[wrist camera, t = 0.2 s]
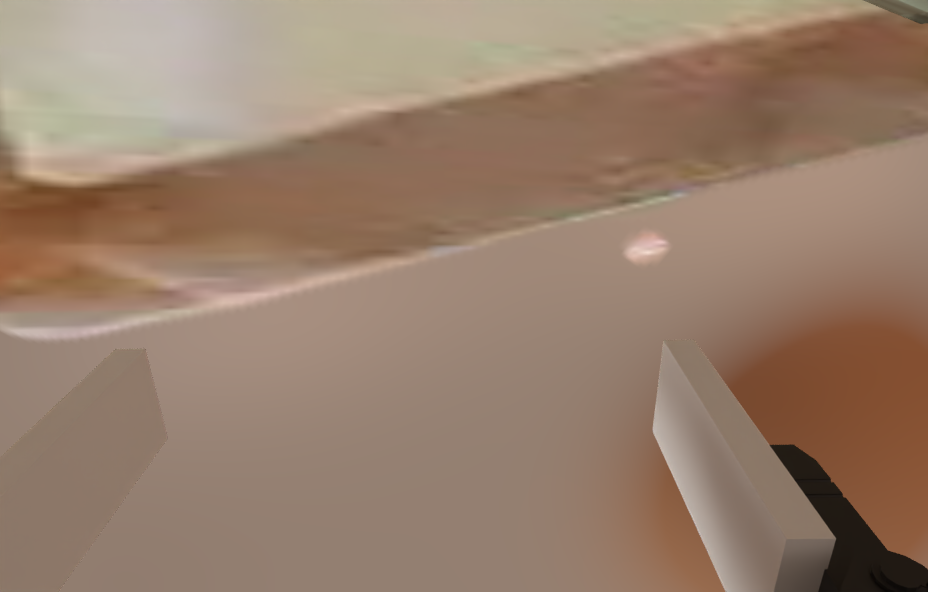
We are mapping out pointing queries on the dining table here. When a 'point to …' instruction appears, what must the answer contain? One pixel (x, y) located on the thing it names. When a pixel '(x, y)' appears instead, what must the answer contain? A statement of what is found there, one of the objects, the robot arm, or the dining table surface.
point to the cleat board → (906, 8)
